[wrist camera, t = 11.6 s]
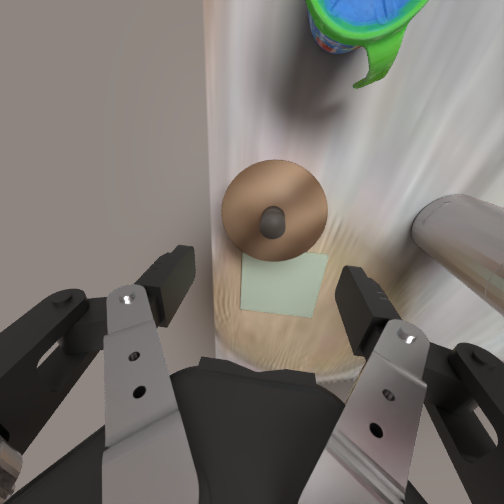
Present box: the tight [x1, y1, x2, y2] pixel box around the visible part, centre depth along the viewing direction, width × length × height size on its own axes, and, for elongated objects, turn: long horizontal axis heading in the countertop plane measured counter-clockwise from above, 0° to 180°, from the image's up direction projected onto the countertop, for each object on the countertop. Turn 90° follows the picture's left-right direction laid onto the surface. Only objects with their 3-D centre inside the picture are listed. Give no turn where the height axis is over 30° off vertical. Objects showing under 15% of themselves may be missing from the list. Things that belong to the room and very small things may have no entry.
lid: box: [222, 160, 328, 262], centre depth 27 cm, size 14×14×4 cm
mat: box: [240, 252, 329, 318], centre depth 42 cm, size 15×15×1 cm
